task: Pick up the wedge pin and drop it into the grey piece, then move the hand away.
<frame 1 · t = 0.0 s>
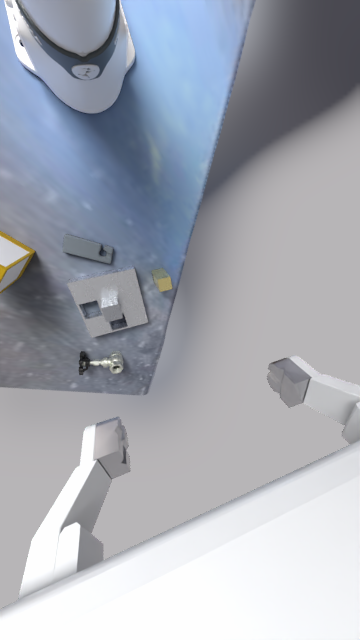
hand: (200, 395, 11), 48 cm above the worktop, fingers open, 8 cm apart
wedge pin: (158, 275, 57), on the worktop
valve: (102, 355, 64), on the worktop
grey piece: (111, 300, 56), on the worktop
bracket: (89, 248, 49), on the worktop
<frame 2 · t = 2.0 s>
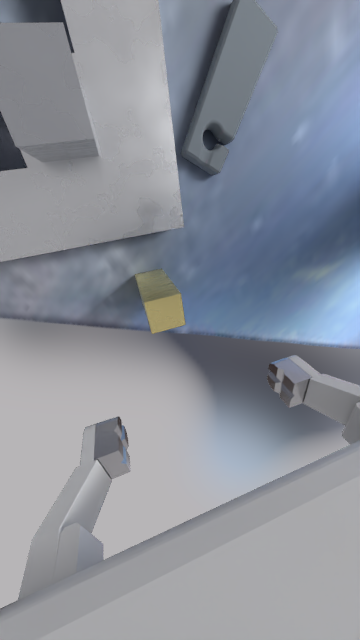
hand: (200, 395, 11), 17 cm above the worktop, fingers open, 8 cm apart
wedge pin: (151, 284, 25), on the worktop
grey piece: (67, 134, 17), on the worktop
bracket: (218, 103, 19), on the worktop
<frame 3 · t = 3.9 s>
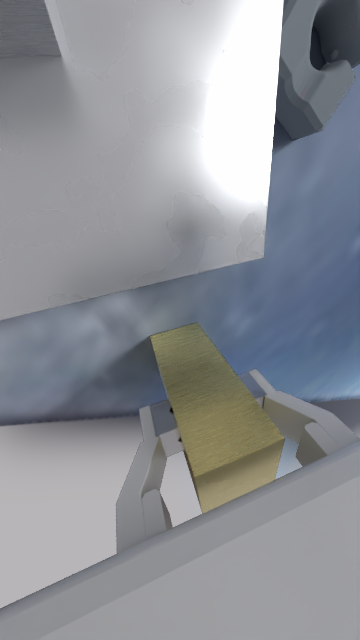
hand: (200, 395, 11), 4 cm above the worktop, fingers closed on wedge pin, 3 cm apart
wedge pin: (177, 348, 14), on the worktop, touching gripper
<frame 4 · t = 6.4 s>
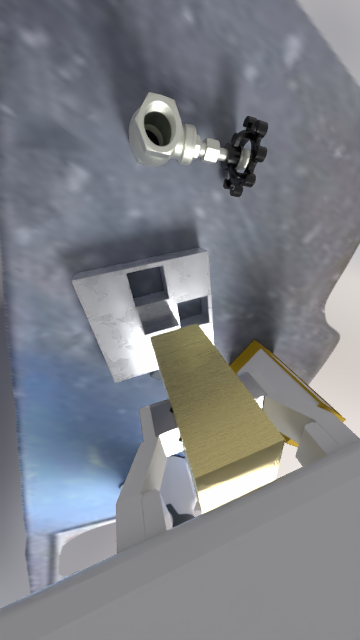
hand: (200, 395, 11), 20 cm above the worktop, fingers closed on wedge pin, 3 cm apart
wedge pin: (177, 349, 14), point 16 cm above the worktop, touching gripper
soap bottle: (258, 364, 43), on the worktop
valve: (182, 155, 22), on the worktop
grey piece: (153, 313, 30), on the worktop
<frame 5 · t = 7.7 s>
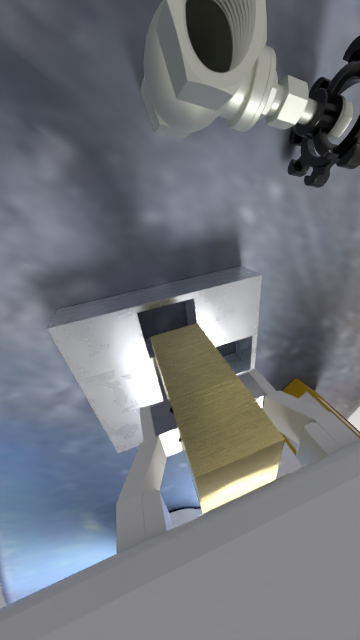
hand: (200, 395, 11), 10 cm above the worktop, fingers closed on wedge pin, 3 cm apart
wedge pin: (177, 348, 14), point 6 cm above the worktop, touching gripper
soap bottle: (295, 403, 34), on the worktop
valve: (227, 119, 14), on the worktop
grey piece: (171, 356, 21), on the worktop
when the fingers open (5 cm above the worktop, at t = 8.9 s): wedge pin stays where it is, resting in grey piece.
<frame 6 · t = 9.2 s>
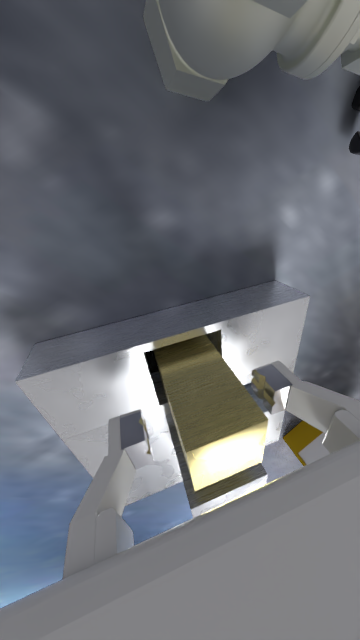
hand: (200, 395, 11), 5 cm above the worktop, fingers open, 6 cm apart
wedge pin: (174, 342, 15), resting in grey piece
soap bottle: (319, 428, 30), on the worktop
valve: (270, 71, 9), on the worktop
grey piece: (183, 390, 17), on the worktop
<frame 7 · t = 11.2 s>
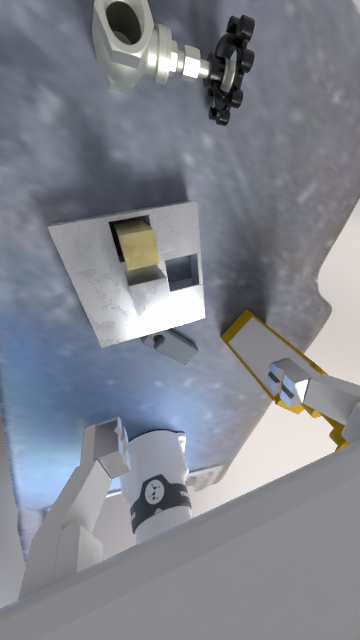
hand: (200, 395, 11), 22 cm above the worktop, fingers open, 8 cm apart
wedge pin: (130, 236, 26), resting in grey piece
soap bottle: (250, 335, 42), on the worktop
valve: (160, 78, 20), on the worktop
grey piece: (140, 275, 29), on the worktop
bracket: (169, 340, 37), on the worktop
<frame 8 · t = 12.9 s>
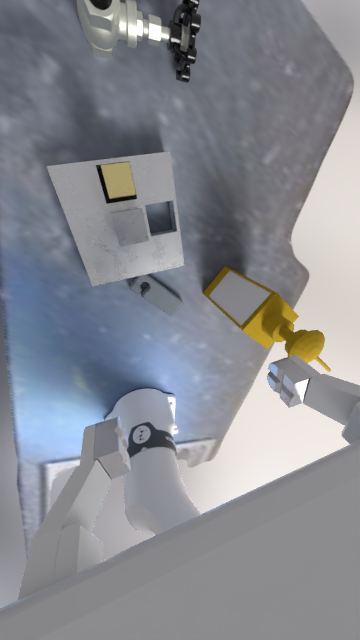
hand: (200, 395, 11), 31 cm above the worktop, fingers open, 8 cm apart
wedge pin: (116, 185, 31), resting in grey piece
soap bottle: (231, 294, 46), on the worktop
valve: (134, 47, 25), on the worktop
grey piece: (126, 223, 33), on the worktop
bracket: (156, 291, 41), on the worktop
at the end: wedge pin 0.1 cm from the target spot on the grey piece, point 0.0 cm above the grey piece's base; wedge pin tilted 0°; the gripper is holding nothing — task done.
